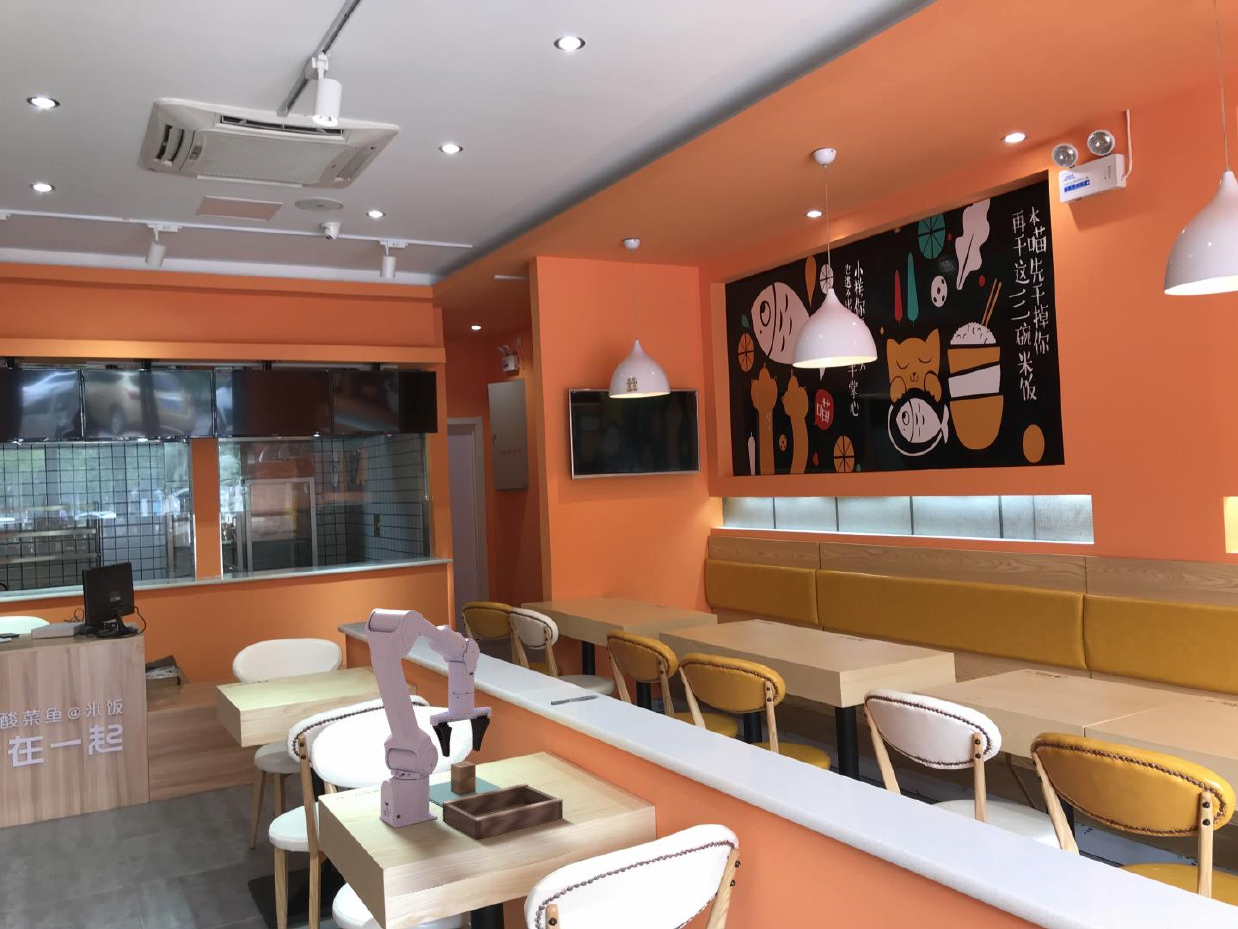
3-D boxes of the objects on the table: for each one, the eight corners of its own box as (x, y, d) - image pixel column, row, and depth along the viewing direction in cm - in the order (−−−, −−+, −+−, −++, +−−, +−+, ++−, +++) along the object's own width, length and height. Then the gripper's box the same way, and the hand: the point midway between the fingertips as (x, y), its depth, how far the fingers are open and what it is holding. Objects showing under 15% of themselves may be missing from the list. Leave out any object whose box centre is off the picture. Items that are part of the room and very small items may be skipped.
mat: (446, 809, 204) (446, 807, 204) (412, 791, 217) (412, 789, 217) (511, 794, 214) (511, 792, 214) (475, 778, 227) (475, 776, 227)
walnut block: (459, 795, 212) (459, 768, 212) (450, 791, 215) (450, 764, 216) (475, 792, 215) (475, 764, 215) (466, 787, 218) (466, 761, 218)
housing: (477, 840, 186) (477, 820, 186) (442, 820, 197) (442, 801, 197) (562, 818, 199) (562, 799, 199) (525, 801, 210) (525, 783, 210)
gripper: (440, 699, 209) (440, 762, 208) (498, 690, 218) (498, 751, 217) (425, 694, 214) (425, 755, 214) (482, 685, 223) (482, 745, 223)
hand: (461, 753), depth 216 cm, fingers open, 7 cm apart
